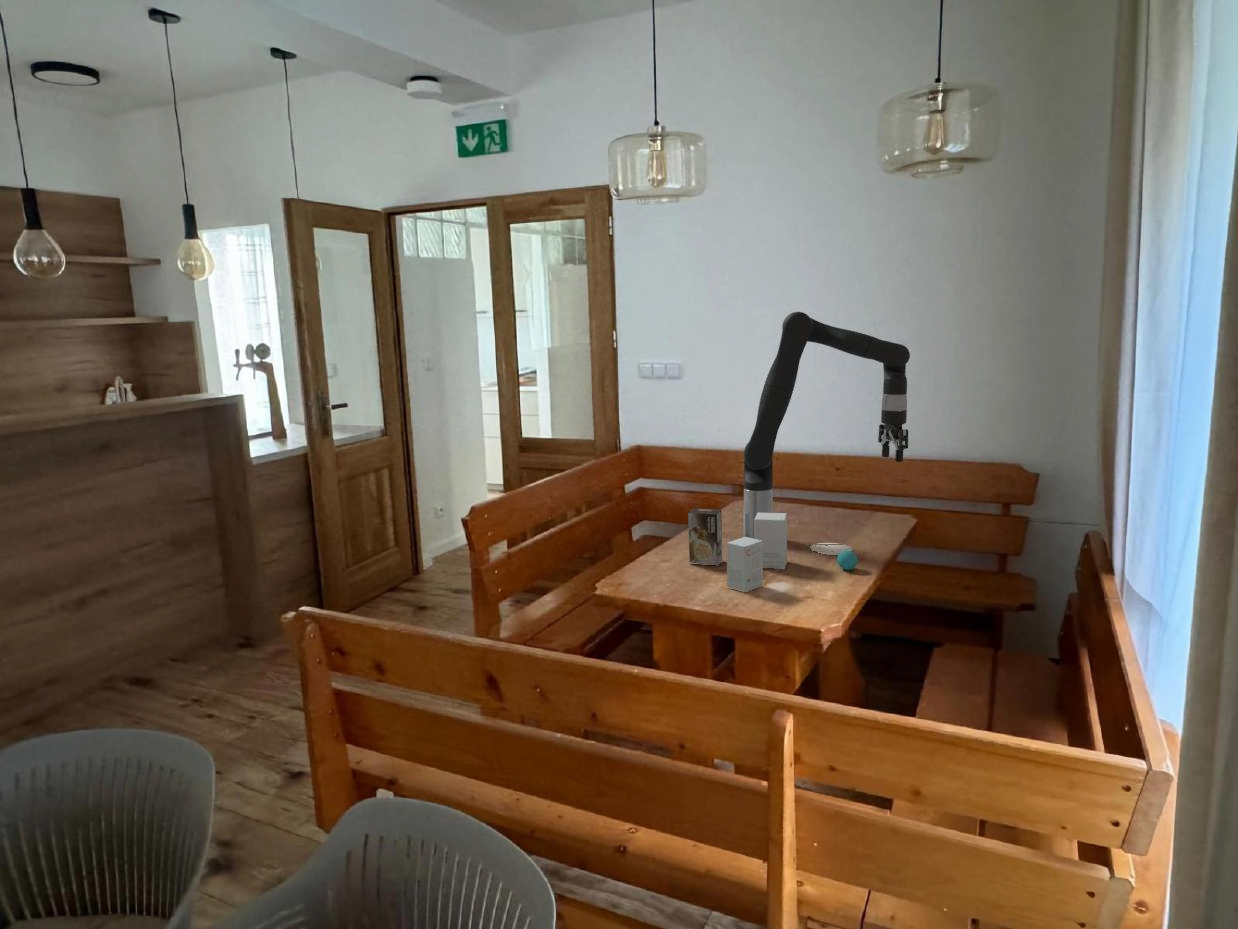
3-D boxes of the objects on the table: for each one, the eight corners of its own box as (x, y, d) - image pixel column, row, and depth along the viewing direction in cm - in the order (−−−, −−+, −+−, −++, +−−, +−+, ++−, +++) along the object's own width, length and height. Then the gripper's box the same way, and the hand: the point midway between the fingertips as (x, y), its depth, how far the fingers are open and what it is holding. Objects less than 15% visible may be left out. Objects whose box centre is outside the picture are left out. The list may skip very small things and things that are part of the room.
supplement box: (787, 561, 245) (787, 512, 242) (785, 570, 236) (785, 520, 234) (757, 559, 247) (757, 511, 245) (753, 568, 239) (753, 518, 236)
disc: (814, 555, 250) (814, 554, 250) (806, 543, 262) (806, 543, 262) (857, 554, 249) (857, 554, 249) (846, 543, 262) (846, 542, 262)
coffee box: (723, 561, 247) (722, 509, 244) (718, 567, 241) (718, 514, 238) (693, 558, 250) (693, 507, 247) (688, 564, 244) (687, 512, 241)
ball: (839, 572, 232) (839, 553, 231) (835, 566, 238) (835, 548, 237) (859, 572, 232) (859, 553, 231) (854, 566, 238) (854, 547, 237)
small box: (745, 581, 227) (744, 536, 225) (763, 586, 223) (763, 540, 221) (726, 588, 222) (726, 542, 220) (744, 593, 217) (744, 546, 215)
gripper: (872, 406, 261) (870, 456, 263) (894, 411, 247) (892, 464, 250) (893, 405, 262) (891, 455, 265) (917, 410, 248) (915, 462, 251)
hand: (892, 459), depth 257 cm, fingers open, 8 cm apart
